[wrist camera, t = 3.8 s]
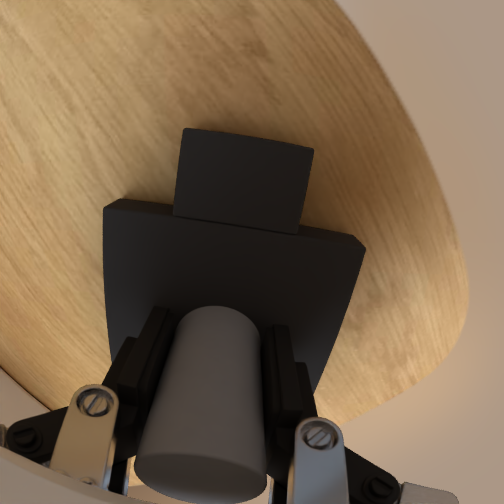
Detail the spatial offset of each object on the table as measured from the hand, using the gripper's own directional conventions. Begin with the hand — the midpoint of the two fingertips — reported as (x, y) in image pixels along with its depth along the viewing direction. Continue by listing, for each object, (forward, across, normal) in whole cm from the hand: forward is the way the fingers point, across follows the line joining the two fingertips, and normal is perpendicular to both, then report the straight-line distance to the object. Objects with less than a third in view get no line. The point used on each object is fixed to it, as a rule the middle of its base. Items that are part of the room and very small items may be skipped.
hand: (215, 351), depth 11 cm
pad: (+2, 0, -1) cm, 3 cm away
